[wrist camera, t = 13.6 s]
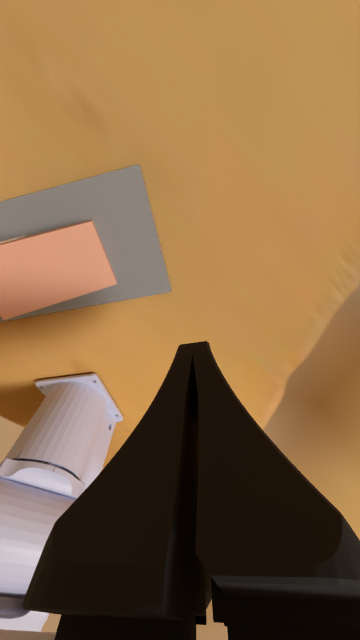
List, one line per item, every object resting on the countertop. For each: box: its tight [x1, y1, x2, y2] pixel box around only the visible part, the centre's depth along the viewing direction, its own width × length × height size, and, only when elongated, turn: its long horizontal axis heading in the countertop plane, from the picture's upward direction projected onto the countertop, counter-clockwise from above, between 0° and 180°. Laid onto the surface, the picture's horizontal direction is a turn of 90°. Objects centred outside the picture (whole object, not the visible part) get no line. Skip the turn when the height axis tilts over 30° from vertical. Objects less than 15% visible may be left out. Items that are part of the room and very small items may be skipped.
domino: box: [0, 219, 117, 320], centre depth 15 cm, size 4×2×8 cm
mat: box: [0, 164, 171, 322], centre depth 18 cm, size 9×27×1 cm, turn 102°
